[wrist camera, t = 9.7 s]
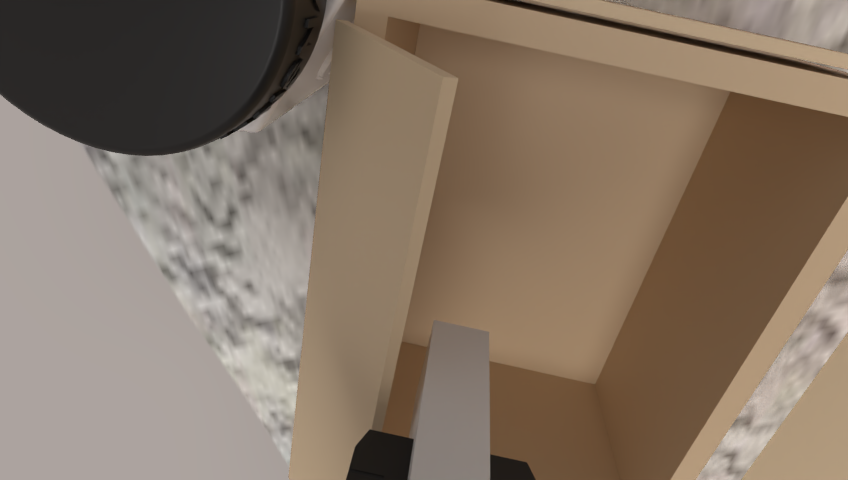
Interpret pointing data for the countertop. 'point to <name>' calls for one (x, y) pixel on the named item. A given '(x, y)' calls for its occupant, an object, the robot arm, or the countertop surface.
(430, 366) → the robot arm
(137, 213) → the countertop surface
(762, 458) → the flap
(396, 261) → the flap
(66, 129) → the jar
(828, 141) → the carton
